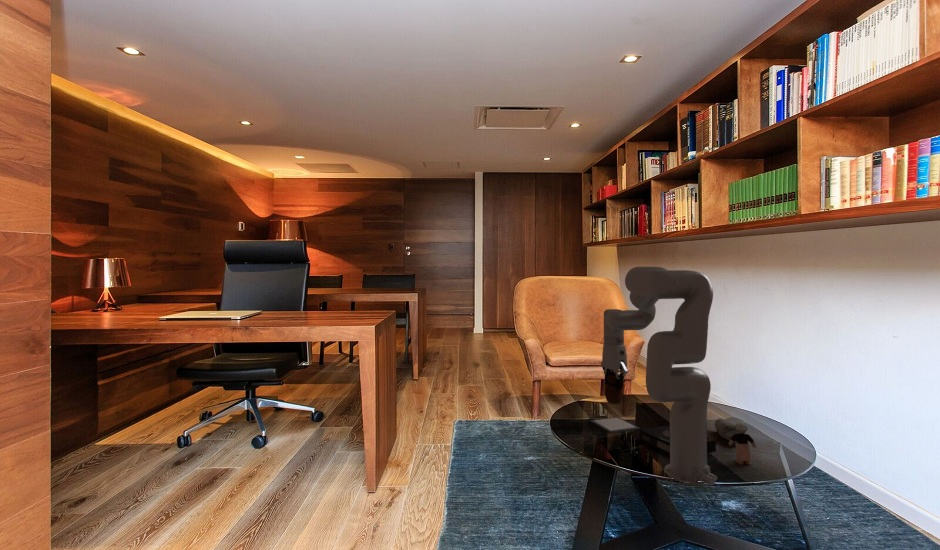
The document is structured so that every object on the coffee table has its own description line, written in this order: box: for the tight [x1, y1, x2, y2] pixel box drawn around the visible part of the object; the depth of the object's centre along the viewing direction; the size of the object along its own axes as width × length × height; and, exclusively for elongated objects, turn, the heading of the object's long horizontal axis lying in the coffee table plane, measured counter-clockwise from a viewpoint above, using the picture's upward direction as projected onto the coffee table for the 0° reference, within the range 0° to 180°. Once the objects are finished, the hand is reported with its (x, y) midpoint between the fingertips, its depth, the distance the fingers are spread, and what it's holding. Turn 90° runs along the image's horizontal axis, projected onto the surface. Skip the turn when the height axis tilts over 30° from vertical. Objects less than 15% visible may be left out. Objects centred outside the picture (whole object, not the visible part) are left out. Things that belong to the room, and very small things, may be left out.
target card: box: [589, 416, 641, 434], centre depth 162 cm, size 13×13×1 cm
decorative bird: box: [714, 417, 739, 448], centre depth 147 cm, size 5×16×8 cm, turn 171°
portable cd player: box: [638, 424, 717, 456], centre depth 143 cm, size 16×17×4 cm
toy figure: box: [728, 421, 757, 466], centre depth 129 cm, size 8×4×13 cm, turn 92°
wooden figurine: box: [604, 369, 624, 405], centre depth 162 cm, size 7×6×15 cm
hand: (613, 386), depth 162 cm, fingers closed on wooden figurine, 6 cm apart
